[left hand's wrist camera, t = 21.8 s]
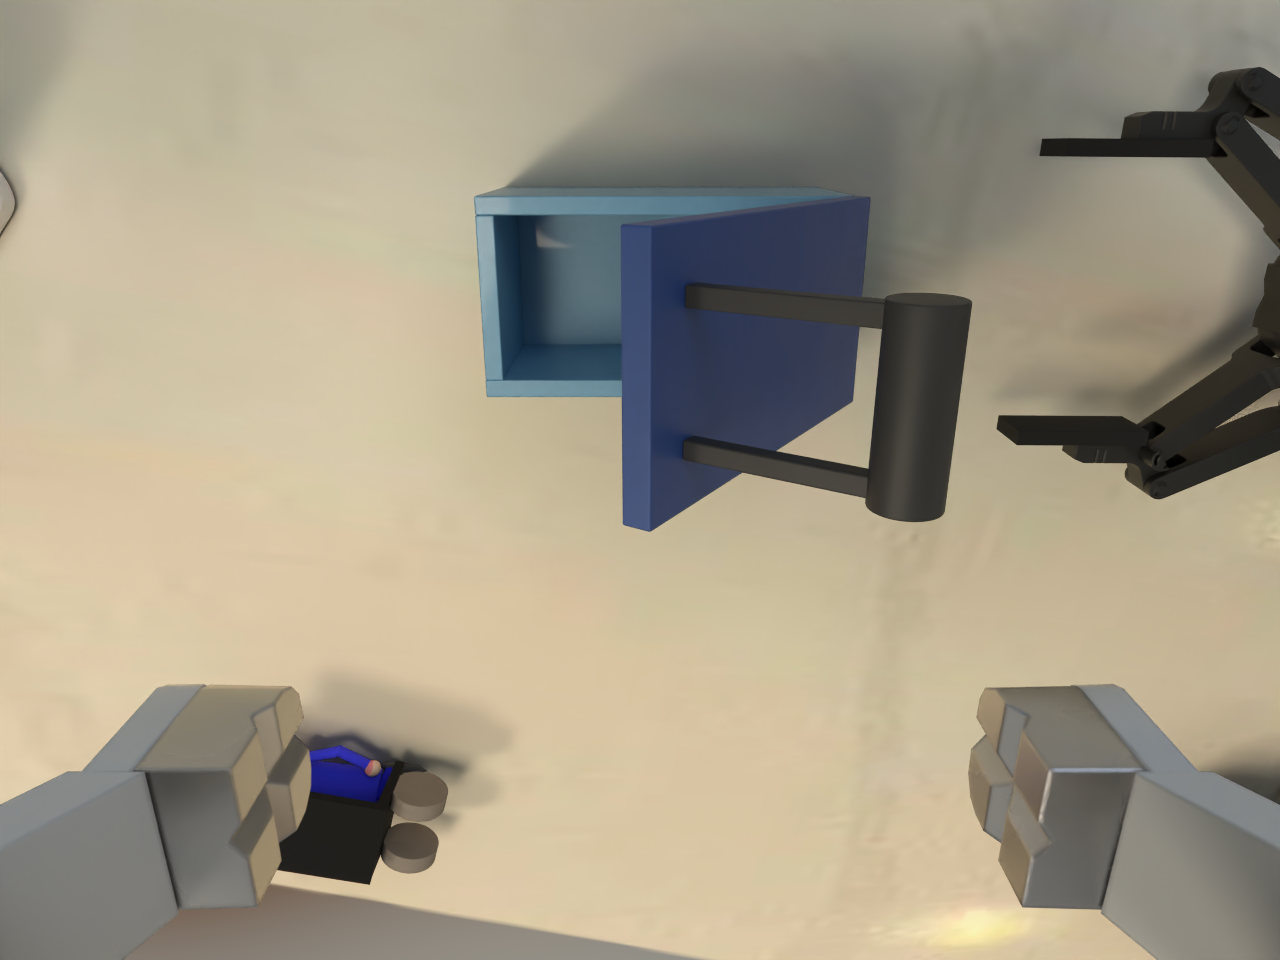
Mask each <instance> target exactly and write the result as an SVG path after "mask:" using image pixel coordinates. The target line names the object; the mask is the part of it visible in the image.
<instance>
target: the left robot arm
mask: <svg viewBox="0 0 1280 960" xmlns="http://www.w3.org/2000/svg"><path fill="white" fill-rule="evenodd" d="M14 207H15V200H14V196H13V193H12V190H11V188H10V186H9V184H8V182H7V181H6V179H5V178H4V176H3V174H2V173H1V171H0V233H1V231H2V230H3V228H4V227H5V225H6V223H7V222H8V220H9V219H10V217H11V215H12V213H13V211H14ZM303 718H304V717H303V712H302V707H301V702H300V697H299V693H298V692H297V691H296V690H295V689H293V688H292V687H291V686H245V685H208V686H207V685H204V684H198V685H166V686H162V687H159V688H157V689H156V690H155V691H154V692H153V693H152V694H151V695H150V696H149V697H148V698H147V700H146V701H145V702H144V703H143V704H142V705H141V706H140V707H139V708H138V710H137V711H136V712H135V713H134V714H133V715H132V716H131V717H130V718H129V720H128V721H127V722H126V723H125V724H124V725H123V726H122V727H121V728H120V729H119V731H118V732H117V733H116V734H115V735H114V736H113V737H112V738H111V739H110V741H109V742H108V743H107V744H106V745H105V746H104V747H103V748H102V749H101V751H100V752H99V753H98V754H97V755H96V756H95V757H94V758H93V759H92V761H91V762H90V763H89V764H88V765H87V766H86V767H85V768H84V769H83V770H82V771H78V772H66V773H64V774H62V775H60V776H58V777H56V778H54V779H51V780H49V781H47V782H45V783H43V784H41V785H39V786H37V787H35V788H33V789H31V790H29V791H27V792H25V793H23V794H21V795H19V796H17V797H15V798H13V799H11V800H9V801H7V802H5V803H3V804H1V805H0V960H124V959H125V958H126V957H127V956H128V955H130V954H131V953H132V952H133V951H134V950H136V949H137V948H138V947H139V946H140V945H142V944H143V943H144V942H145V941H146V940H148V939H149V938H150V937H151V936H153V935H154V934H155V933H156V932H157V931H159V930H160V929H161V928H162V927H163V926H165V925H166V924H167V923H168V922H169V921H170V920H172V919H173V918H174V917H175V916H177V915H178V913H179V912H178V910H179V909H214V908H248V907H258V906H259V904H260V902H261V900H262V898H263V896H264V894H265V892H266V890H267V888H268V886H269V884H270V882H271V880H272V878H273V876H274V874H275V872H276V870H277V868H278V866H279V865H280V863H281V861H282V860H281V854H280V848H279V843H280V842H281V841H283V840H284V839H285V838H287V837H288V836H290V835H291V834H293V833H294V832H295V831H297V829H298V826H299V824H300V822H301V820H302V818H303V816H304V814H305V812H306V807H307V803H308V798H309V794H310V789H311V761H310V754H309V749H308V748H307V747H306V746H305V745H304V744H303V743H302V742H301V741H300V740H299V739H298V738H297V737H296V736H295V735H294V733H295V732H296V730H297V728H298V726H299V725H300V723H301V721H302V719H303ZM976 718H977V719H978V721H979V723H980V725H981V726H982V728H983V730H984V732H985V733H986V735H985V736H984V737H983V738H982V739H981V740H980V741H979V742H978V743H977V744H976V745H975V746H974V747H973V748H972V749H971V755H970V764H969V772H968V775H969V786H970V797H971V800H972V804H973V807H974V811H975V814H976V816H977V818H978V820H979V822H980V824H981V827H982V829H983V831H985V832H986V833H987V834H989V835H990V836H992V837H993V838H995V839H996V840H997V841H999V842H1000V843H1001V848H1000V854H999V860H998V861H999V863H1000V865H1001V867H1002V868H1003V870H1004V872H1005V874H1006V876H1007V878H1008V880H1009V882H1010V884H1011V886H1012V888H1013V890H1014V892H1015V894H1016V896H1017V898H1018V900H1019V902H1020V904H1021V906H1022V907H1029V908H1065V909H1100V910H1102V911H1101V914H1103V915H1104V916H1105V917H1106V918H1107V919H1109V920H1110V921H1111V922H1112V923H1113V924H1115V925H1116V926H1117V927H1118V928H1119V929H1121V930H1122V931H1123V932H1124V933H1125V934H1127V935H1128V936H1129V937H1130V938H1131V939H1133V940H1134V941H1135V942H1136V943H1137V944H1139V945H1140V946H1141V947H1142V948H1143V949H1145V950H1146V951H1147V952H1148V953H1149V954H1151V955H1152V956H1153V957H1154V958H1155V959H1157V960H1280V805H1279V804H1277V803H1275V802H1273V801H1271V800H1269V799H1267V798H1265V797H1263V796H1261V795H1259V794H1257V793H1255V792H1253V791H1251V790H1249V789H1247V788H1245V787H1243V786H1241V785H1239V784H1237V783H1235V782H1233V781H1230V780H1228V779H1226V778H1224V777H1222V776H1220V775H1218V774H1216V773H1214V772H1202V771H1197V769H1196V768H1195V767H1194V766H1193V765H1192V764H1191V763H1190V762H1189V761H1188V759H1187V758H1186V757H1185V756H1184V755H1183V754H1182V753H1181V752H1180V751H1179V749H1178V748H1177V747H1176V746H1175V745H1174V744H1173V743H1172V742H1171V741H1170V739H1169V738H1168V737H1167V736H1166V735H1165V734H1164V733H1163V732H1162V731H1161V730H1160V728H1159V727H1158V726H1157V725H1156V724H1155V723H1154V722H1153V721H1152V720H1151V718H1150V717H1149V716H1148V715H1147V714H1146V713H1145V712H1144V711H1143V710H1142V708H1141V707H1140V706H1139V705H1138V704H1137V703H1136V702H1135V701H1134V700H1133V698H1132V697H1131V696H1130V695H1129V694H1128V693H1127V692H1126V691H1125V690H1124V689H1123V688H1121V687H1119V686H1116V685H1114V684H1098V685H1071V686H1051V687H997V688H985V689H984V691H983V693H982V695H981V697H980V700H979V705H978V711H977V717H976Z"/></svg>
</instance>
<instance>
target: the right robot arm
mask: <svg viewBox="0 0 1280 960" xmlns="http://www.w3.org/2000/svg"><path fill="white" fill-rule="evenodd" d="M1208 91H1209V95H1208V97H1207V99H1206V101H1205V102H1204V104H1203V105H1202V106H1201V107H1200V108H1199V109H1197V110H1196V111H1194V112H1162V111H1152V112H1138V113H1134V114H1132V115H1129V116H1127V117H1125V119H1124V124H1123V129H1122V135H1121V139H1085V138H1062V139H1042V144H1041V150H1040V156H1086V157H1205V158H1206V159H1207V160H1208V161H1209V163H1210V164H1211V165H1212V166H1213V167H1214V168H1215V169H1216V171H1217V172H1218V173H1219V174H1220V175H1221V176H1222V177H1223V179H1224V180H1225V181H1226V182H1227V183H1228V184H1229V185H1230V186H1231V188H1232V189H1233V190H1234V191H1235V192H1236V193H1237V194H1238V196H1239V197H1240V198H1241V199H1242V200H1243V201H1244V202H1245V204H1246V205H1247V206H1248V207H1249V208H1250V209H1251V210H1252V212H1253V213H1254V214H1255V215H1256V216H1257V217H1258V218H1259V219H1260V221H1261V222H1262V223H1263V224H1264V226H1265V227H1264V228H1263V229H1264V232H1265V233H1266V234H1267V235H1268V237H1269V238H1270V239H1271V240H1272V241H1273V242H1274V243H1275V244H1276V246H1277V247H1278V248H1279V249H1280V160H1279V159H1278V157H1277V156H1276V155H1275V154H1274V153H1273V151H1272V150H1271V149H1270V148H1269V147H1268V146H1267V144H1266V143H1265V142H1264V141H1263V140H1262V139H1261V137H1260V136H1259V135H1258V134H1257V133H1256V132H1255V130H1254V129H1253V128H1252V127H1251V126H1250V124H1249V123H1248V122H1247V121H1246V120H1248V121H1250V122H1251V123H1253V124H1254V125H1256V126H1258V127H1259V128H1261V129H1262V130H1264V131H1266V132H1267V133H1269V134H1270V135H1272V136H1274V137H1275V138H1277V139H1278V140H1280V78H1278V77H1277V76H1275V75H1274V74H1272V73H1271V72H1269V71H1267V70H1266V69H1264V68H1261V67H1257V68H1247V69H1240V70H1232V71H1226V72H1220V73H1218V74H1216V75H1215V76H1214V77H1213V78H1212V79H1211V81H1210V83H1209V87H1208ZM1244 118H1245V119H1246V120H1245V119H1244ZM1253 326H1254V327H1257V328H1258V334H1259V335H1257V336H1256V337H1255V338H1253V339H1252V340H1250V341H1249V342H1247V343H1246V344H1244V345H1243V346H1241V347H1240V348H1239V349H1237V350H1236V351H1235V352H1233V354H1232V359H1231V360H1230V361H1229V362H1227V363H1226V364H1224V365H1223V366H1222V367H1220V368H1219V369H1217V370H1216V371H1214V372H1213V373H1211V374H1210V375H1208V376H1207V377H1206V378H1204V379H1203V380H1201V381H1200V382H1198V383H1197V384H1195V385H1194V386H1192V387H1191V388H1189V389H1188V390H1187V391H1185V392H1184V393H1182V394H1181V395H1179V396H1178V397H1176V398H1175V399H1173V400H1172V401H1171V402H1169V403H1168V404H1166V405H1165V406H1163V407H1162V408H1160V409H1159V410H1157V411H1156V412H1154V413H1153V414H1152V415H1150V416H1149V417H1147V418H1146V419H1144V420H1143V421H1141V422H1140V423H1138V424H1137V425H1136V424H1135V423H1133V422H1131V421H1129V420H1127V419H1126V418H1124V417H1122V416H1010V415H999V417H998V423H997V430H999V431H1000V432H1001V433H1002V434H1004V435H1005V436H1006V437H1007V438H1009V439H1010V440H1011V441H1013V442H1014V443H1015V444H1016V445H1063V449H1062V451H1064V452H1065V453H1067V454H1068V455H1069V456H1071V457H1072V458H1074V459H1075V460H1078V461H1080V462H1083V463H1127V469H1126V471H1125V478H1126V479H1127V481H1129V482H1130V483H1132V484H1133V485H1135V486H1136V487H1138V488H1139V489H1140V490H1142V491H1143V492H1145V493H1146V494H1148V495H1149V496H1151V497H1153V498H1154V499H1162V498H1165V497H1168V496H1170V495H1173V494H1175V493H1177V492H1180V491H1182V490H1185V489H1187V488H1190V487H1192V486H1194V485H1197V484H1199V483H1202V482H1204V481H1207V480H1209V479H1211V478H1214V477H1216V476H1219V475H1221V474H1224V473H1226V472H1228V471H1231V470H1233V469H1236V468H1238V467H1240V466H1243V465H1245V464H1248V463H1250V462H1253V461H1255V460H1257V459H1260V458H1262V457H1265V456H1267V455H1270V454H1272V453H1274V452H1277V451H1279V450H1280V400H1279V402H1278V405H1279V406H1274V407H1269V408H1265V409H1261V410H1258V411H1256V412H1253V413H1251V414H1248V415H1246V416H1243V417H1241V418H1239V419H1236V420H1234V421H1232V422H1229V423H1227V424H1224V425H1222V426H1220V427H1217V426H1219V425H1220V424H1222V423H1223V422H1225V421H1226V420H1228V419H1229V418H1231V417H1232V416H1234V415H1235V414H1237V413H1238V412H1240V411H1241V410H1243V409H1244V408H1246V407H1247V406H1249V405H1250V404H1252V403H1253V402H1255V401H1256V400H1258V399H1259V398H1261V397H1262V396H1264V395H1265V394H1267V393H1268V392H1270V391H1271V390H1273V389H1276V388H1280V255H1279V256H1278V258H1277V259H1276V260H1275V262H1274V264H1269V263H1268V266H1267V270H1266V274H1265V278H1264V297H1263V299H1262V301H1261V303H1260V305H1259V307H1258V308H1257V310H1256V314H1255V318H1254V322H1253ZM1275 354H1276V355H1277V356H1278V357H1279V358H1274V357H1273V356H1274V355H1275ZM1216 427H1217V428H1216ZM1214 428H1215V429H1214Z"/></svg>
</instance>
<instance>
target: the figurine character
mask: <svg viewBox="0 0 1280 960" xmlns="http://www.w3.org/2000/svg"><path fill="white" fill-rule="evenodd" d="M309 754H310V761H311V789H310V794H309V798H308V803H307V807H306V812H305V814H304V816H303V818H302V820H301V822H300V824H299V826H298V829H297V831H295V832H294V833H293V834H291V835H290V836H288V837H287V838H285V839H284V840H283V841H281V842H280V843H279V848H280V854H281V860H282V861H281V863H280V865H279V866H278V868H277V870H280V871H287V872H293V873H299V874H305V875H312V876H318V877H324V878H331V879H337V880H343V881H349V882H356V883H362V884H368V885H370V882H371V879H372V875H373V873H374V870H375V868H376V865H377V863H378V860H379V857H380V855H381V858H382V860H383V862H384V863H385V864H386V865H387V866H388V867H389V868H391V869H393V870H395V871H398V872H402V873H418V872H422V871H424V870H426V869H428V868H429V867H430V866H431V865H432V864H433V863H434V860H435V857H436V852H437V848H438V843H439V842H438V838H437V835H436V834H435V833H434V832H433V831H432V830H431V829H430V828H428V827H426V826H424V825H421V824H417V823H401V824H397V825H395V826H393V827H391V823H392V818H393V814H394V813H395V814H396V815H398V816H400V817H401V818H404V819H407V820H410V821H429V820H432V819H435V818H436V817H438V816H439V815H441V813H442V812H443V810H444V807H445V803H446V799H447V795H448V788H447V786H446V784H445V783H444V782H443V781H442V780H441V779H440V778H438V777H437V776H435V775H432V774H429V773H425V772H426V771H427V770H425V769H424V768H423V767H421V766H419V765H410V764H404V762H400V761H396V762H395V763H394V762H385V763H382V764H380V763H379V762H378V761H376V760H372V761H371V760H370V759H368V758H365V757H363V756H361V755H359V754H357V753H355V752H353V751H351V750H349V749H347V748H345V747H343V746H342V745H340V746H335V747H330V748H325V749H320V750H314V751H309ZM335 757H340V758H342V759H344V760H346V761H348V762H350V763H352V764H354V765H349V764H341V763H332V762H324V761H320V760H325V759H330V758H335ZM381 767H382V768H381ZM382 769H384V772H383V774H382ZM402 772H406V773H404V774H402Z"/></svg>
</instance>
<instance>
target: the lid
mask: <svg viewBox="0 0 1280 960" xmlns="http://www.w3.org/2000/svg"><path fill="white" fill-rule="evenodd" d="M870 199H871V198H870V197H860V196H846V197H838V198H830V199H822V200H814V201H806V202H797V203H789V204H781V205H773V206H765V207H757V208H749V209H740V210H732V211H724V212H716V213H708V214H700V215H692V216H683V217H675V218H667V219H659V220H651V221H643V222H635V223H626V224H622V225H621V349H622V473H623V525H625V526H629V527H633V528H637V529H641V530H645V531H648V532H650V531H652V530H654V529H655V528H657V527H658V526H660V525H662V524H663V523H665V522H666V521H668V520H669V519H671V518H672V517H674V516H676V515H677V514H679V513H680V512H682V511H683V510H685V509H686V508H688V507H690V506H691V505H693V504H694V503H696V502H697V501H699V500H700V499H702V498H704V497H705V496H707V495H708V494H710V493H711V492H713V491H714V490H716V489H718V488H719V487H721V486H722V485H724V484H725V483H727V482H728V481H730V480H732V479H733V478H735V477H736V476H738V475H739V474H741V473H742V472H743V473H748V474H753V475H757V476H762V477H767V478H772V479H777V480H781V481H786V482H791V483H796V484H801V485H805V486H810V487H815V488H820V489H825V490H829V491H834V492H839V493H844V494H849V495H853V496H858V497H863V498H866V500H865V504H866V507H867V508H868V509H869V510H870V511H872V512H873V513H875V514H877V515H879V516H882V517H885V518H888V519H892V520H898V521H906V522H925V521H931V520H935V519H937V518H939V517H941V516H942V515H943V514H944V512H945V505H946V497H947V490H948V482H949V475H950V467H951V460H952V452H953V444H954V437H955V429H956V422H957V414H958V407H959V399H960V391H961V384H962V376H963V369H964V361H965V354H966V346H967V338H968V331H969V323H970V316H971V308H972V301H971V300H969V299H967V298H964V297H960V296H954V295H947V294H936V293H900V294H893V295H889V296H887V297H886V298H885V299H879V298H867V297H862V290H863V279H864V268H865V256H866V245H867V233H868V222H869V211H870ZM859 327H868V328H878V329H882V335H881V346H880V356H879V366H878V377H877V387H876V397H875V407H874V418H873V428H872V438H871V449H870V459H869V469H867V468H861V467H856V466H851V465H846V464H840V463H835V462H830V461H825V460H819V459H814V458H809V457H804V456H798V455H793V454H788V453H783V452H777V450H778V449H780V448H781V447H783V446H784V445H786V444H787V443H789V442H791V441H792V440H794V439H795V438H797V437H798V436H800V435H801V434H803V433H805V432H806V431H808V430H809V429H811V428H812V427H814V426H815V425H817V424H819V423H820V422H822V421H823V420H825V419H826V418H828V417H829V416H831V415H833V414H834V413H836V412H837V411H839V410H840V409H842V408H843V407H845V406H847V405H848V404H850V403H851V402H852V401H853V393H854V381H855V370H856V359H857V347H858V336H859Z"/></svg>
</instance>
